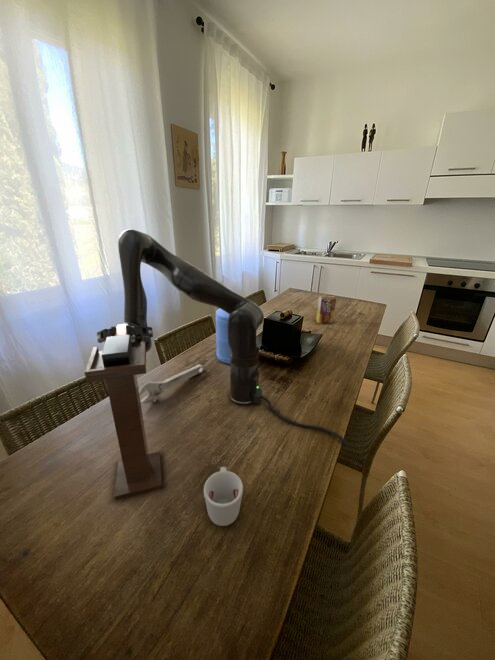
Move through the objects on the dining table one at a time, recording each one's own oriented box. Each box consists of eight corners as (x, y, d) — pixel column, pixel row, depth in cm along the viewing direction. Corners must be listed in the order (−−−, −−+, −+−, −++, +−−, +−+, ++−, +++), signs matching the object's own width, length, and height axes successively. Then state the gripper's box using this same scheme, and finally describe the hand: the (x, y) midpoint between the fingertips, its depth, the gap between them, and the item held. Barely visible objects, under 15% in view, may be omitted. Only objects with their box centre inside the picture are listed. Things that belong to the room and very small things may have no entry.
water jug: (209, 360, 119) (208, 297, 108) (226, 345, 132) (226, 287, 121) (243, 368, 114) (245, 303, 103) (257, 352, 127) (259, 292, 116)
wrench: (203, 377, 112) (139, 410, 88) (200, 375, 113) (136, 408, 89) (204, 358, 110) (139, 387, 85) (201, 357, 111) (135, 385, 86)
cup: (206, 485, 66) (205, 460, 63) (240, 483, 66) (240, 458, 63) (203, 533, 56) (202, 507, 53) (243, 531, 57) (244, 504, 53)
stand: (118, 463, 70) (93, 347, 57) (159, 454, 74) (145, 341, 60) (114, 499, 62) (84, 372, 49) (161, 487, 65) (145, 364, 52)
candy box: (329, 320, 166) (333, 295, 160) (332, 323, 162) (336, 297, 156) (315, 320, 165) (318, 296, 159) (318, 323, 161) (321, 298, 155)
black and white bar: (113, 331, 67) (111, 319, 66) (133, 329, 68) (131, 317, 67) (104, 369, 52) (101, 354, 50) (129, 365, 53) (127, 351, 52)
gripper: (100, 327, 77) (83, 316, 60) (153, 322, 81) (151, 311, 64) (103, 354, 76) (86, 351, 60) (156, 348, 80) (155, 343, 64)
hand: (120, 330), depth 62 cm, fingers closed on black and white bar, 2 cm apart
